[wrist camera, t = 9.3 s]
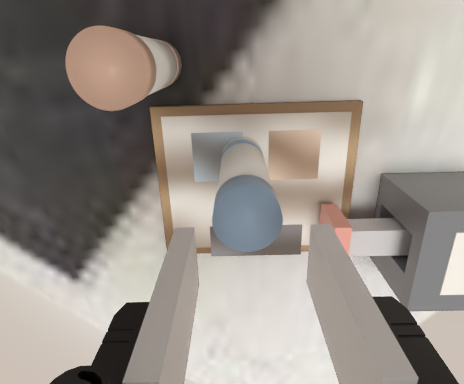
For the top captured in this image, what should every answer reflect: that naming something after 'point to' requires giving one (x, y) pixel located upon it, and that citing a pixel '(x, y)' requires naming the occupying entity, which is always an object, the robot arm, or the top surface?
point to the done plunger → (367, 233)
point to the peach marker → (119, 66)
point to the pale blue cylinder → (245, 199)
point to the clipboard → (276, 159)
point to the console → (425, 239)
